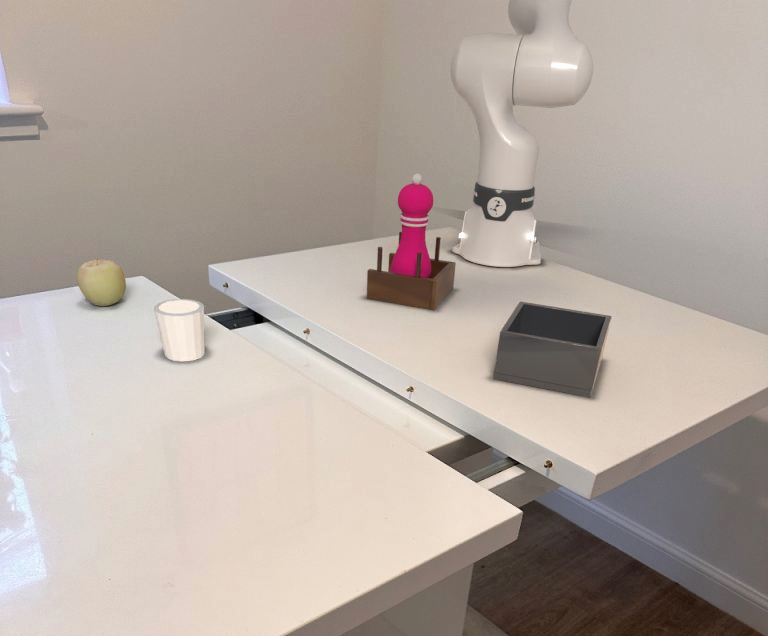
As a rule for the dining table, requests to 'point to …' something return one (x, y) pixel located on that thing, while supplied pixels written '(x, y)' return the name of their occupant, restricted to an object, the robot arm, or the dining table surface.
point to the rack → (412, 282)
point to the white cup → (181, 328)
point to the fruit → (101, 282)
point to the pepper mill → (413, 228)
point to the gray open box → (552, 348)
